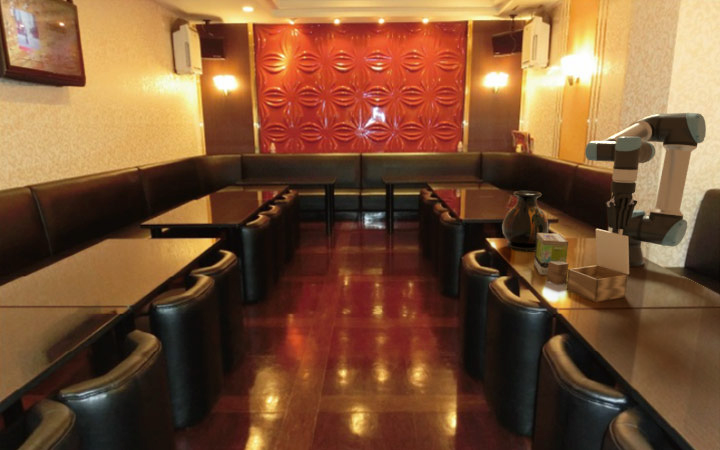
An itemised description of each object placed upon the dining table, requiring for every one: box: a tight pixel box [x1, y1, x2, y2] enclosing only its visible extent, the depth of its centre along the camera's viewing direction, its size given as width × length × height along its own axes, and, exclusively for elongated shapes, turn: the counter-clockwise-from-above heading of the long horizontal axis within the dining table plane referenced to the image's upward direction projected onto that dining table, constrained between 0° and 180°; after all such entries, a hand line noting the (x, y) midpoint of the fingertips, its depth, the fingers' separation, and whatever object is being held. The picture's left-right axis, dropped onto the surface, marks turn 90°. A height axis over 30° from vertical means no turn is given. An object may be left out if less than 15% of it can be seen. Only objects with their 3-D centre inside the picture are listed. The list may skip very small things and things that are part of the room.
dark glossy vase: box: [501, 190, 549, 253], centre depth 224 cm, size 22×22×28 cm
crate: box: [565, 264, 629, 303], centre depth 165 cm, size 14×13×8 cm
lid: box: [595, 228, 630, 275], centre depth 164 cm, size 14×13×1 cm
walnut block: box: [546, 260, 569, 286], centre depth 177 cm, size 5×5×8 cm
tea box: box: [533, 232, 569, 276], centre depth 191 cm, size 15×10×15 cm
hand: (615, 246), depth 164 cm, fingers closed
